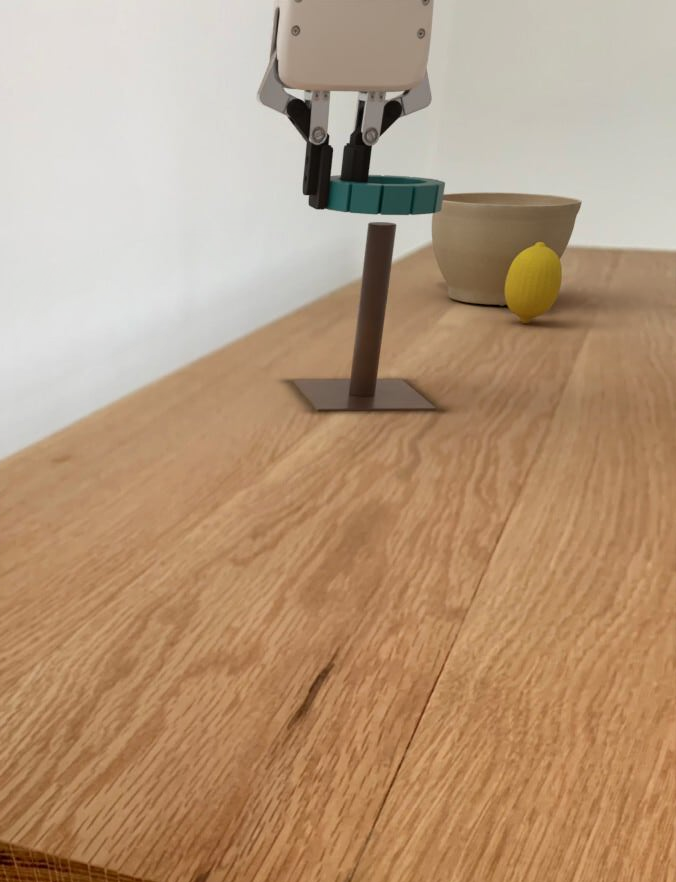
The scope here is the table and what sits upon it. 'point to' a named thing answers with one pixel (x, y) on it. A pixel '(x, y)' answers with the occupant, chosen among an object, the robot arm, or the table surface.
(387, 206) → the ring
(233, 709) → the table surface
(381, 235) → the peg stand
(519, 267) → the lemon
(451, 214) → the planter bowl
